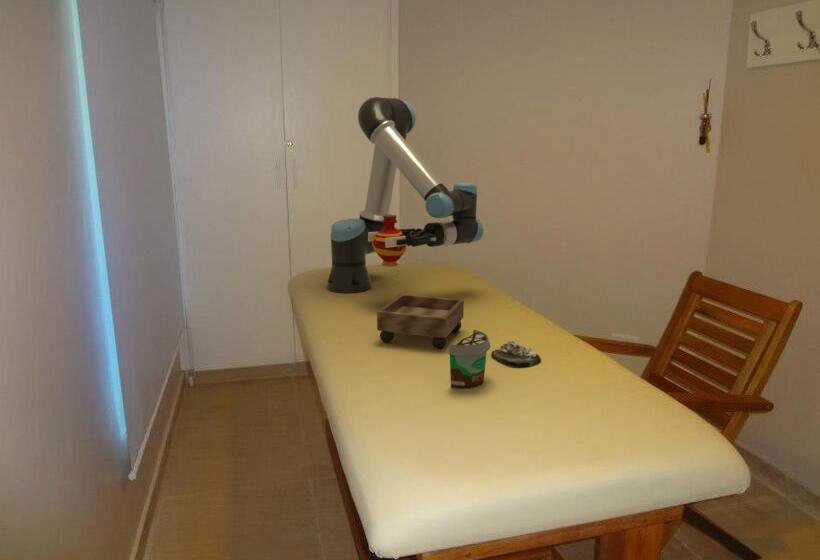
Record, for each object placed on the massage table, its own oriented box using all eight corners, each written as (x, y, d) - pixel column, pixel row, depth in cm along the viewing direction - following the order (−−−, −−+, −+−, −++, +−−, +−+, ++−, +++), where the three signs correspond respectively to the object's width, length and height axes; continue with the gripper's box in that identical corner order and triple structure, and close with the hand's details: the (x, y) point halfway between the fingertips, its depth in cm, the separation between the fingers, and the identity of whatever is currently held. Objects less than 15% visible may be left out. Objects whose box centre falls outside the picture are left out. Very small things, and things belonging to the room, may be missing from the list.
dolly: (377, 343, 154) (377, 311, 152) (401, 323, 170) (401, 294, 168) (445, 352, 148) (445, 318, 146) (463, 330, 165) (463, 299, 163)
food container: (473, 396, 123) (475, 350, 121) (447, 389, 126) (448, 344, 124) (498, 376, 133) (500, 333, 131) (473, 370, 137) (474, 328, 134)
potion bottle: (408, 261, 187) (408, 213, 184) (404, 269, 177) (404, 218, 174) (374, 260, 188) (374, 213, 185) (369, 267, 178) (369, 217, 175)
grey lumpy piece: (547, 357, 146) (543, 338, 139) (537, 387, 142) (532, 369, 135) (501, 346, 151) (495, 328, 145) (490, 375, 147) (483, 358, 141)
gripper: (459, 251, 181) (395, 259, 170) (419, 240, 200) (360, 245, 189) (460, 227, 180) (395, 233, 168) (420, 217, 199) (359, 222, 187)
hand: (377, 239), depth 179 cm, fingers closed on potion bottle, 10 cm apart
